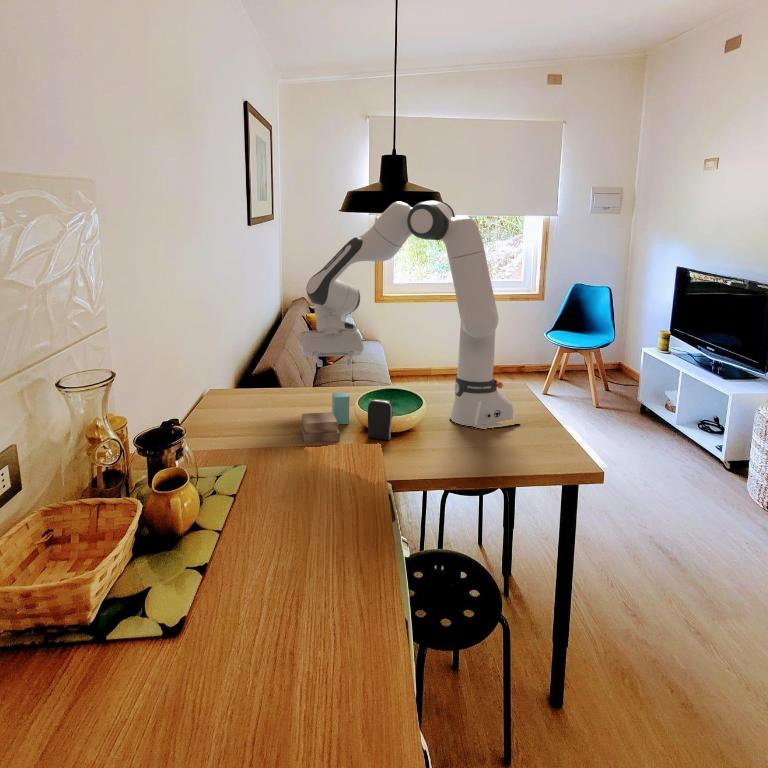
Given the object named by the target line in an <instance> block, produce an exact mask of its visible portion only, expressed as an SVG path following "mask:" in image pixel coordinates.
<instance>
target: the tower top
mask: <svg viewBox="0 0 768 768" xmlns="http://www.w3.org/2000/svg"><path fill="white" fill-rule="evenodd" d="M301 423H302V425H303V427H304V430H305V432H306V433H323V432H338V430H339V427H338V426H339V425H338V421H337V420H336V418H335V416H334V415H333V413H332V411H331V412H326V411H325V412H312V413H311V412H309V413H301Z"/></svg>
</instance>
